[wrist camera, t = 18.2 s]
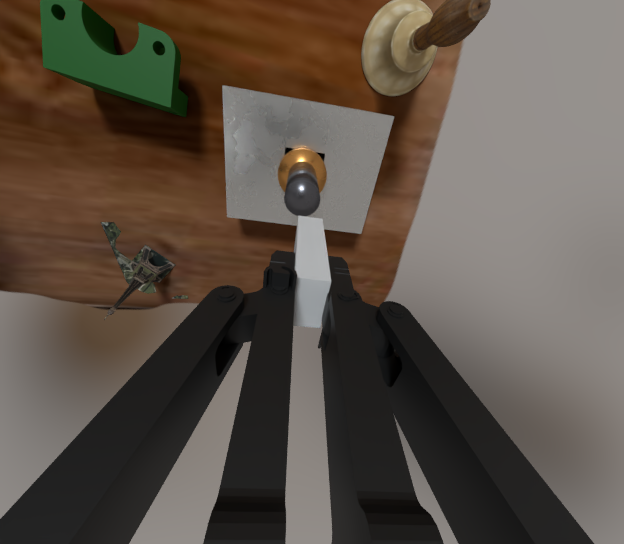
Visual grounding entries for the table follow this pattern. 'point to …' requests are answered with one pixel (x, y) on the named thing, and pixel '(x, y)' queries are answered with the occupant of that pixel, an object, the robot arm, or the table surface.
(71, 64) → the clamp
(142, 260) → the eiffel tower figurine
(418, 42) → the hand bell
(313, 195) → the pin
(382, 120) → the hole block
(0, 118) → the table surface
